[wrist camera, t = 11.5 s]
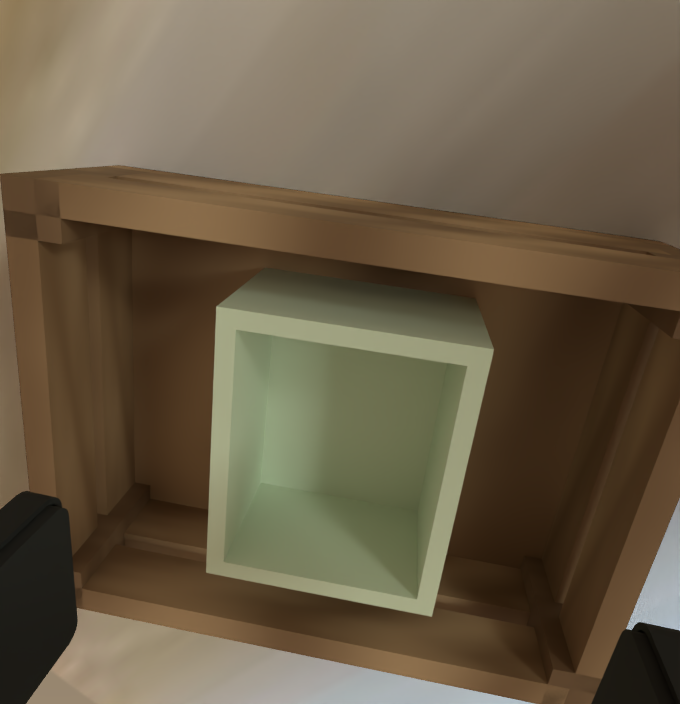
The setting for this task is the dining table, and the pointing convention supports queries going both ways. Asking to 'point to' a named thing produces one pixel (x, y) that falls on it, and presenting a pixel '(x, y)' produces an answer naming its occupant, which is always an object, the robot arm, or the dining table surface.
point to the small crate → (342, 435)
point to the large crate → (487, 447)
